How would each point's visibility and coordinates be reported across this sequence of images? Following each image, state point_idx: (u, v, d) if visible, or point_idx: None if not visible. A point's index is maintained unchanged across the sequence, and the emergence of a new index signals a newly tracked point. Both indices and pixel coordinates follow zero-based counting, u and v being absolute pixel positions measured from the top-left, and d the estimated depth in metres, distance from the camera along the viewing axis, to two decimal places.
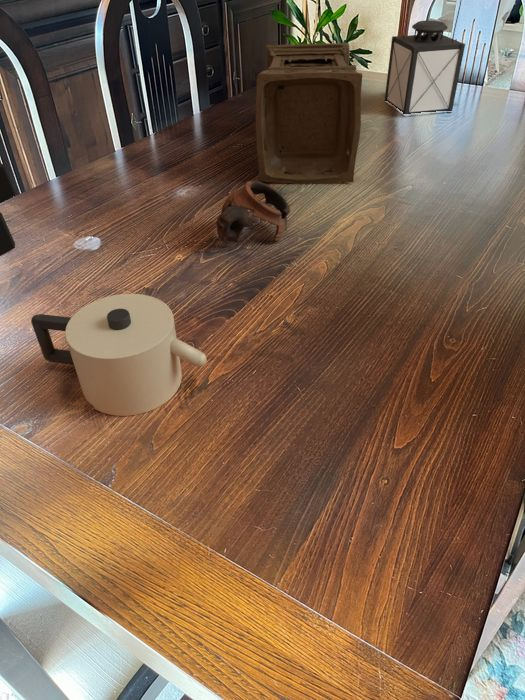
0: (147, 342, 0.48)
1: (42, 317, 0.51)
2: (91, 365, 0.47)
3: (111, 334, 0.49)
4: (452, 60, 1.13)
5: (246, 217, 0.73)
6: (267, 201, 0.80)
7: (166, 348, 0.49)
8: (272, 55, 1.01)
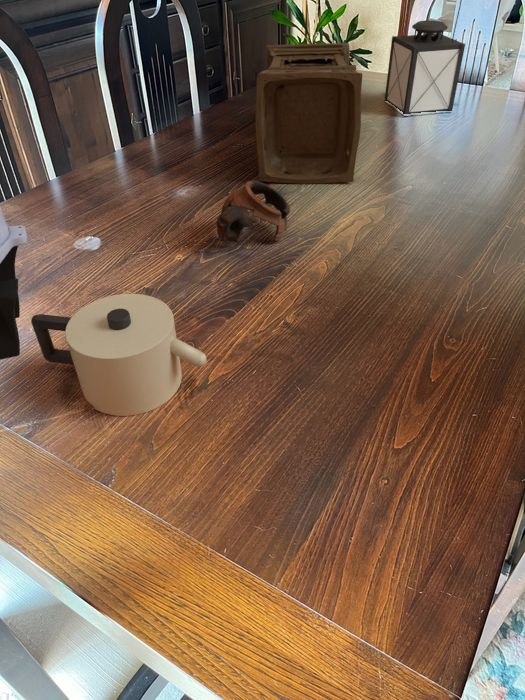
0: (147, 342, 0.48)
1: (42, 317, 0.51)
2: (91, 365, 0.47)
3: (111, 334, 0.49)
4: (452, 60, 1.13)
5: (246, 217, 0.73)
6: (267, 201, 0.80)
7: (166, 348, 0.49)
8: (272, 55, 1.01)
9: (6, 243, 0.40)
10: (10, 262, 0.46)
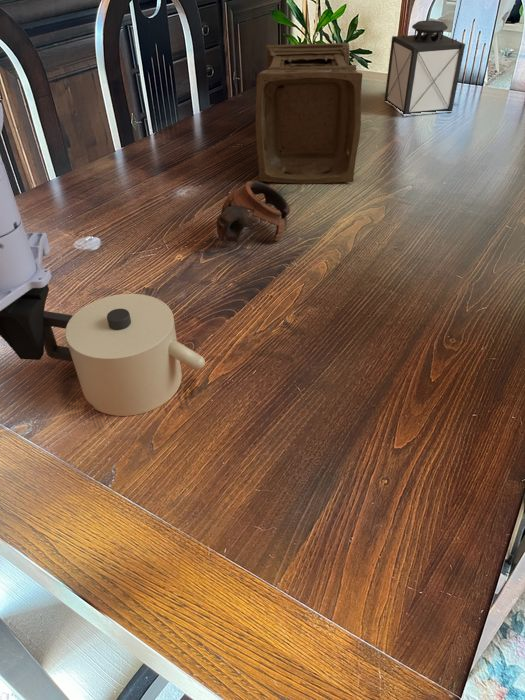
0: (145, 344, 0.48)
1: (45, 314, 0.52)
2: (88, 364, 0.47)
3: (110, 334, 0.49)
4: (452, 60, 1.13)
5: (246, 217, 0.73)
6: (267, 201, 0.80)
7: (164, 350, 0.49)
8: (272, 55, 1.01)
9: (23, 286, 0.45)
10: None
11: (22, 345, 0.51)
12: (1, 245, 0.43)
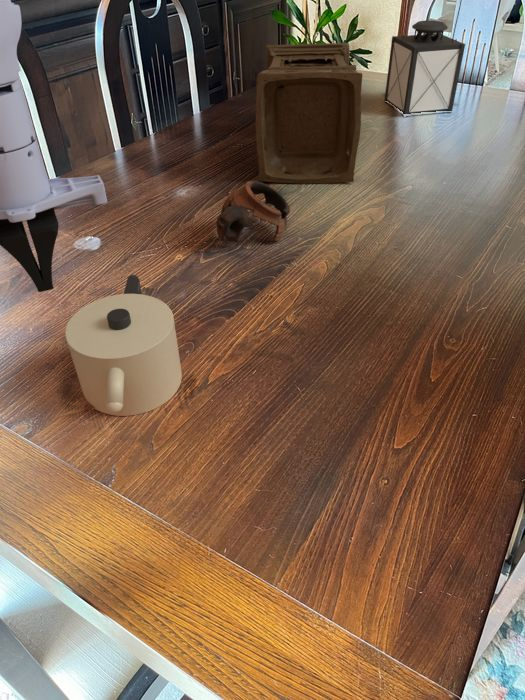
0: (88, 349, 0.47)
1: (131, 279, 0.56)
2: None
3: (102, 323, 0.50)
4: (452, 60, 1.13)
5: (246, 217, 0.73)
6: (267, 201, 0.80)
7: (100, 368, 0.47)
8: (272, 55, 1.01)
9: None
10: (33, 243, 0.48)
11: None
12: None
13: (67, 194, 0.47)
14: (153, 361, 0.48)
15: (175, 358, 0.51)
